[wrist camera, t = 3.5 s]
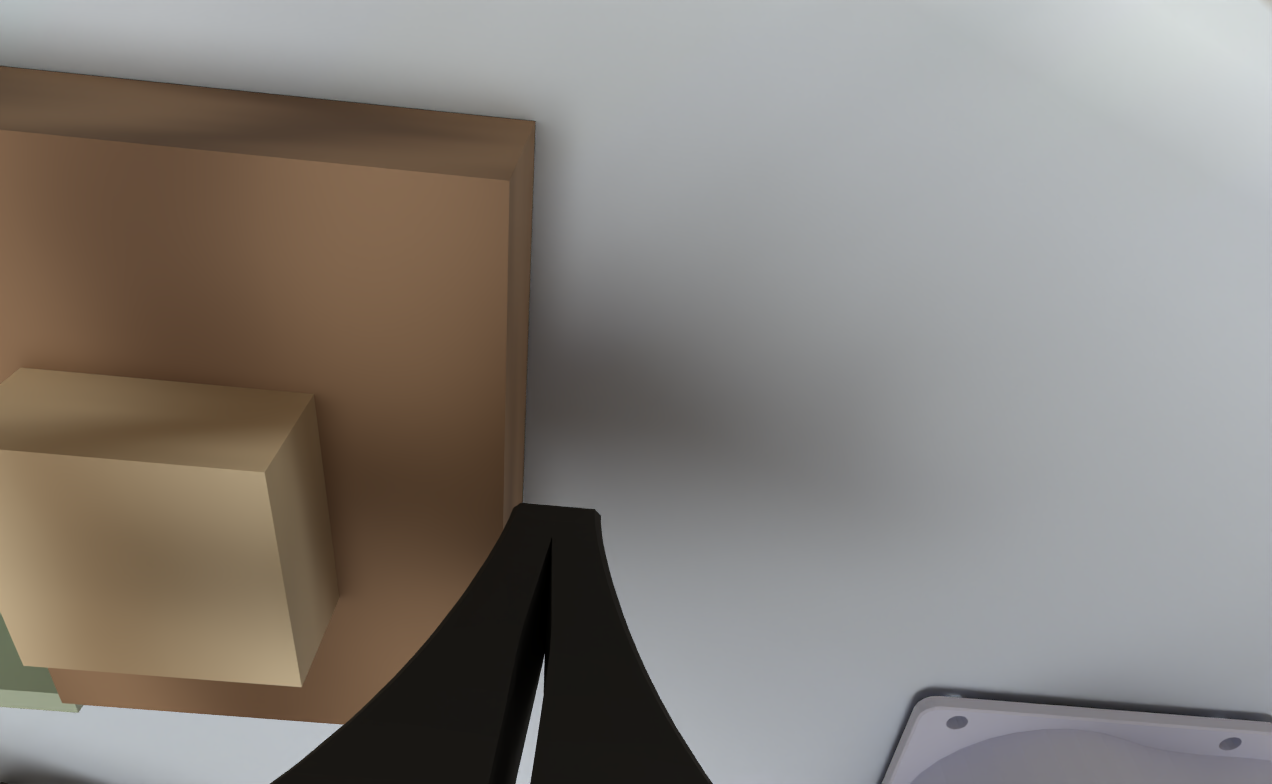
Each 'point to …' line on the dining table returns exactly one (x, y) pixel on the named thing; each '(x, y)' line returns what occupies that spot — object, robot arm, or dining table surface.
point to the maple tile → (163, 527)
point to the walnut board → (291, 323)
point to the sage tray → (26, 681)
